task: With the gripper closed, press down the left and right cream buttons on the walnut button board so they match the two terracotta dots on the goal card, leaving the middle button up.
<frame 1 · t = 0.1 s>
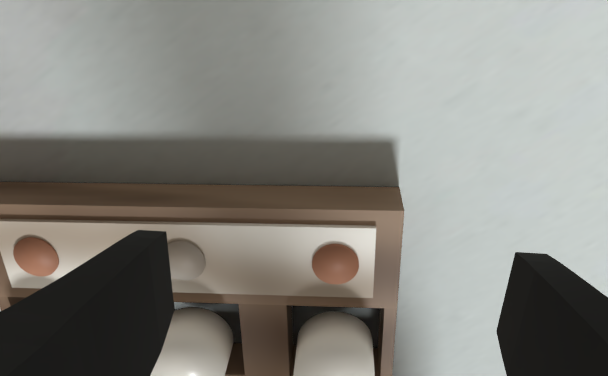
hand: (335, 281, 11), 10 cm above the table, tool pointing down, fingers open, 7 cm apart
board: (207, 309, 24), on the table
button middle: (190, 354, 22), point 3 cm above the table, slide at 0.0 cm
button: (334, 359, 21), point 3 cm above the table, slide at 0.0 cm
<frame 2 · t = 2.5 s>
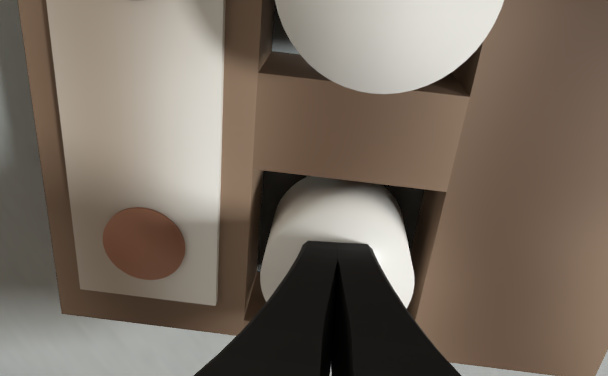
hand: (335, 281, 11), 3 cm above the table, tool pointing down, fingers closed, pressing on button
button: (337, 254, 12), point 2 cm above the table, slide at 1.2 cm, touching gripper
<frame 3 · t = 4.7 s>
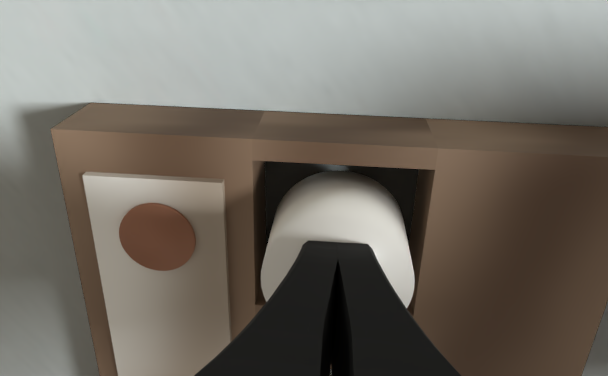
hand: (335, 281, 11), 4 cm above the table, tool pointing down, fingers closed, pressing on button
board: (328, 368, 17), on the table
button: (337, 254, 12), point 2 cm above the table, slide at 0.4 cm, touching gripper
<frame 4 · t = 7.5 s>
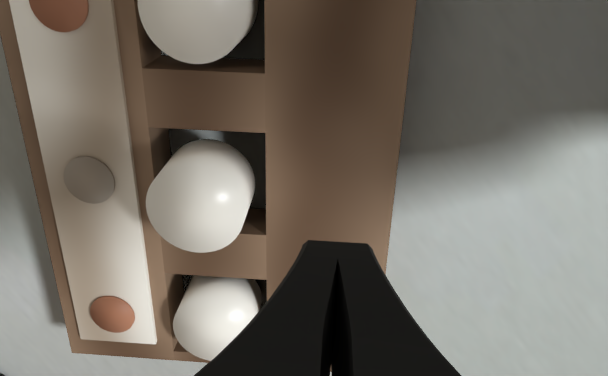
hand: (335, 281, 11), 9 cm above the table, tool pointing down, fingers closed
board: (221, 161, 20), on the table
button middle: (203, 195, 18), point 3 cm above the table, slide at 0.0 cm
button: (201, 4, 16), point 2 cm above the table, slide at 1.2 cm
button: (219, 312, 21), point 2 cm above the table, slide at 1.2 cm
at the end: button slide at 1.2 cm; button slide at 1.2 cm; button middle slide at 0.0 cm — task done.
